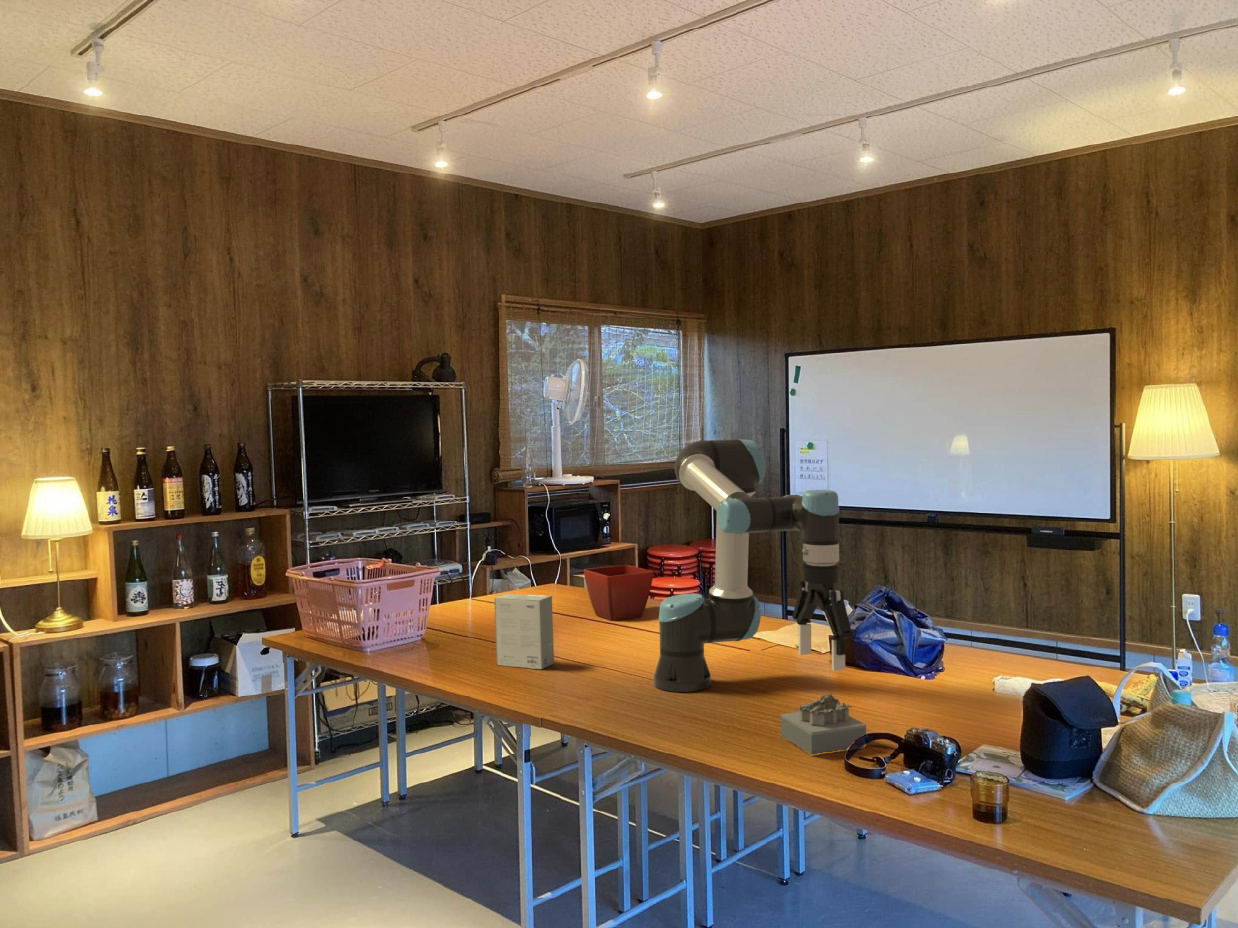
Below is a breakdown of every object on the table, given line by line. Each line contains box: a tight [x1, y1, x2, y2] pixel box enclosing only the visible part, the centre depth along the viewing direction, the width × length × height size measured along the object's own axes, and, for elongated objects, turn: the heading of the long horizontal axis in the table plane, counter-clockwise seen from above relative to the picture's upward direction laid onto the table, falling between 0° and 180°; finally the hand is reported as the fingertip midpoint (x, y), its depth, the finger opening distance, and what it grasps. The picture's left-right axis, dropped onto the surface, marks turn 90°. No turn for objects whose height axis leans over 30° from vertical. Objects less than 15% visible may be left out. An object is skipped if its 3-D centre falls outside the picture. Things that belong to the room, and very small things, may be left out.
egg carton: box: [796, 693, 853, 726], centre depth 200 cm, size 11×8×4 cm
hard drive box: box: [494, 593, 555, 670], centre depth 271 cm, size 16×8×20 cm, turn 65°
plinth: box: [780, 711, 867, 754], centre depth 200 cm, size 13×13×5 cm
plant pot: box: [583, 564, 654, 622], centre depth 337 cm, size 19×19×17 cm
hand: (821, 661), depth 200 cm, fingers open, 13 cm apart
